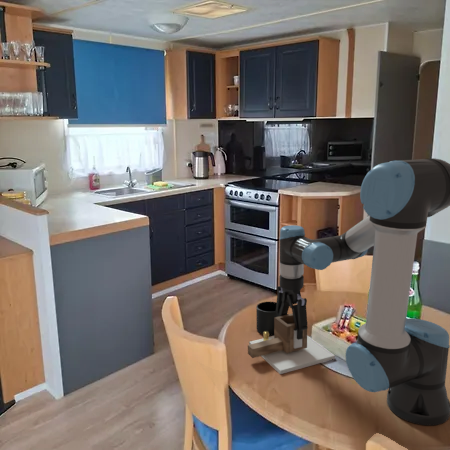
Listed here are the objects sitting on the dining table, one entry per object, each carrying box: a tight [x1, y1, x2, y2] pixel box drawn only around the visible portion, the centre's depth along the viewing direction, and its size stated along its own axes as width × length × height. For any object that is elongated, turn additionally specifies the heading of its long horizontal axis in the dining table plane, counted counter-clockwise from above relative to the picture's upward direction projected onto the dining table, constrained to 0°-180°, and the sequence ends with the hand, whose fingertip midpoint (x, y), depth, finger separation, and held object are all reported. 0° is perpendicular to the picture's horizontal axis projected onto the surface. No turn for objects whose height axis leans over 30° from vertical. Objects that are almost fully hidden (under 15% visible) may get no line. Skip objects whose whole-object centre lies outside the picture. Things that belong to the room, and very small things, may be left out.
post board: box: [248, 323, 336, 375], centre depth 144 cm, size 20×20×9 cm
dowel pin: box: [262, 331, 270, 341], centre depth 148 cm, size 2×2×4 cm
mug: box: [255, 301, 279, 336], centre depth 161 cm, size 9×12×9 cm
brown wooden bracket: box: [247, 312, 308, 359], centre depth 141 cm, size 19×8×9 cm, turn 115°
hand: (290, 341), depth 144 cm, fingers closed on brown wooden bracket, 8 cm apart
